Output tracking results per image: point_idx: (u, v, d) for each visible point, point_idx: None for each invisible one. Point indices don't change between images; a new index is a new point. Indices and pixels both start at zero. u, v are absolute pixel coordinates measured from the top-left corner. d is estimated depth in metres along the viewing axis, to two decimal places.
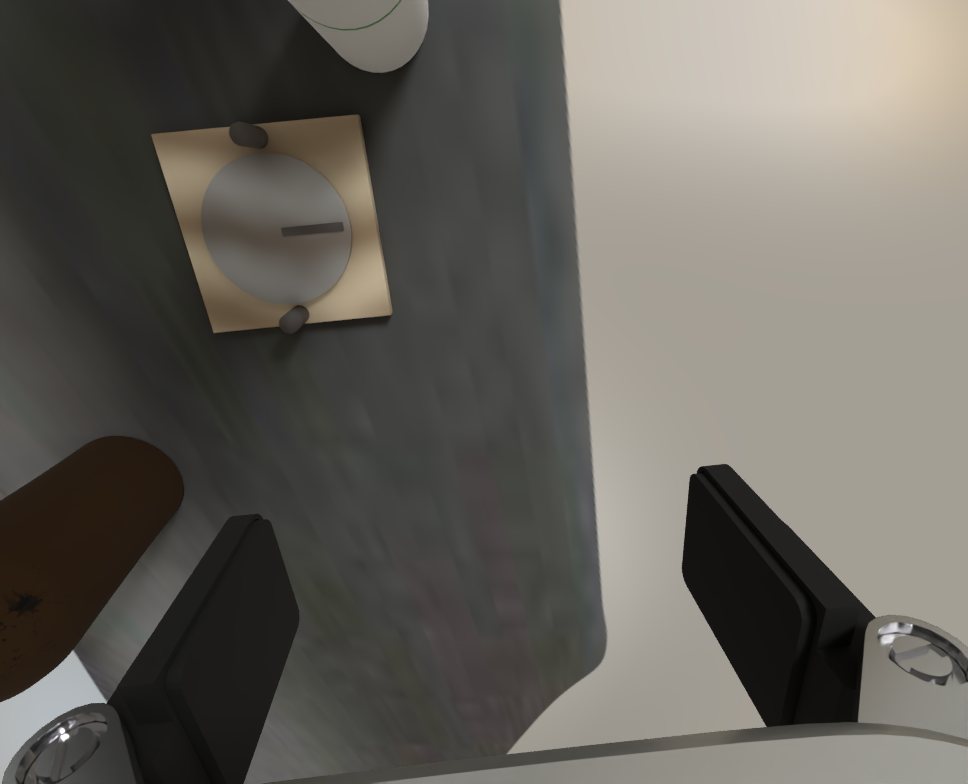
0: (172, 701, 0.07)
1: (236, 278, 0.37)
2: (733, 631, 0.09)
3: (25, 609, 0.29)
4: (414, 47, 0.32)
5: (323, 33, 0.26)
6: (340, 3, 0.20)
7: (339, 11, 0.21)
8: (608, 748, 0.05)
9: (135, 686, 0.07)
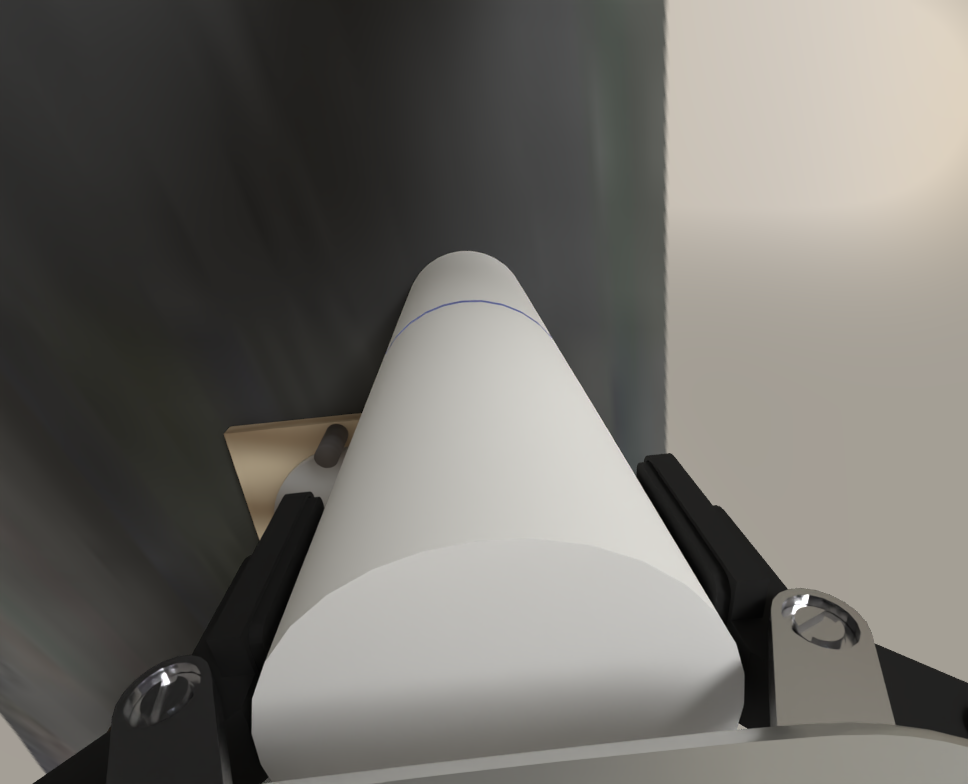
0: (254, 654, 0.08)
1: None
2: None
3: None
4: None
5: None
6: None
7: None
8: (608, 748, 0.05)
9: (222, 639, 0.07)
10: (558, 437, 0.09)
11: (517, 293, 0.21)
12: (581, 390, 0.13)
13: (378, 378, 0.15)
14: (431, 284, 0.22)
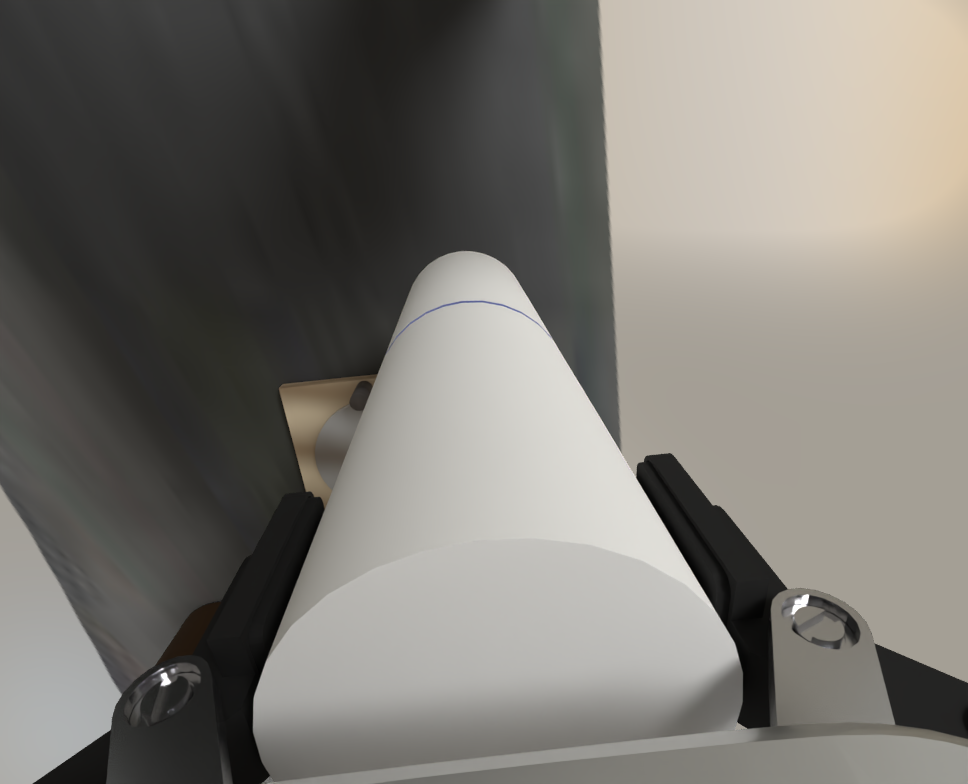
0: (254, 654, 0.08)
1: None
2: None
3: None
4: None
5: None
6: None
7: None
8: (608, 748, 0.05)
9: (222, 639, 0.07)
10: (558, 438, 0.09)
11: (517, 293, 0.21)
12: (581, 390, 0.13)
13: (378, 378, 0.15)
14: (431, 284, 0.22)
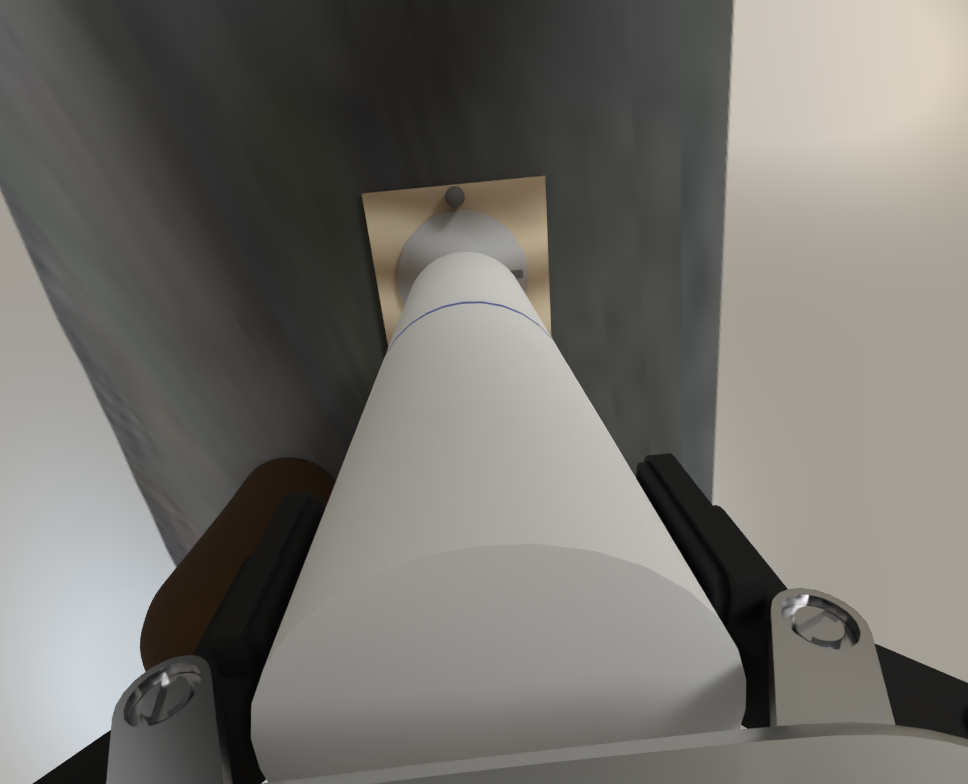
0: (254, 654, 0.08)
1: None
2: None
3: None
4: None
5: None
6: None
7: None
8: (608, 748, 0.05)
9: (223, 639, 0.07)
10: (559, 440, 0.09)
11: (517, 294, 0.21)
12: (582, 392, 0.13)
13: (378, 380, 0.15)
14: (431, 285, 0.22)
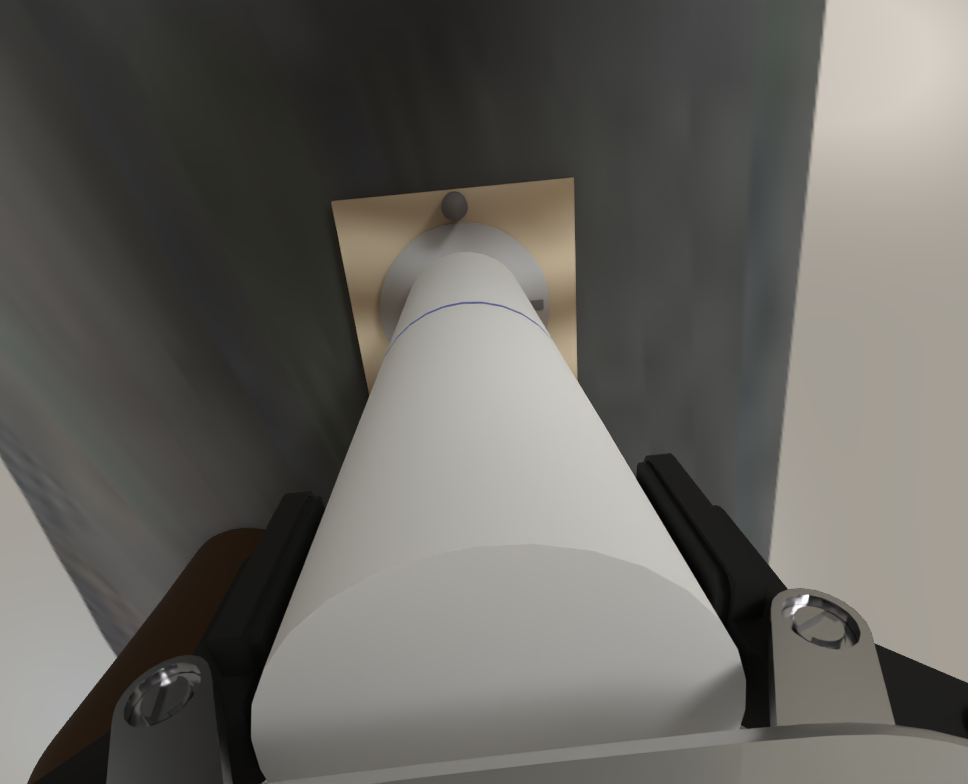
0: (254, 654, 0.08)
1: None
2: None
3: None
4: None
5: None
6: None
7: None
8: (608, 748, 0.05)
9: (222, 639, 0.07)
10: (559, 442, 0.09)
11: (517, 294, 0.21)
12: (581, 392, 0.13)
13: (378, 380, 0.15)
14: (431, 285, 0.22)
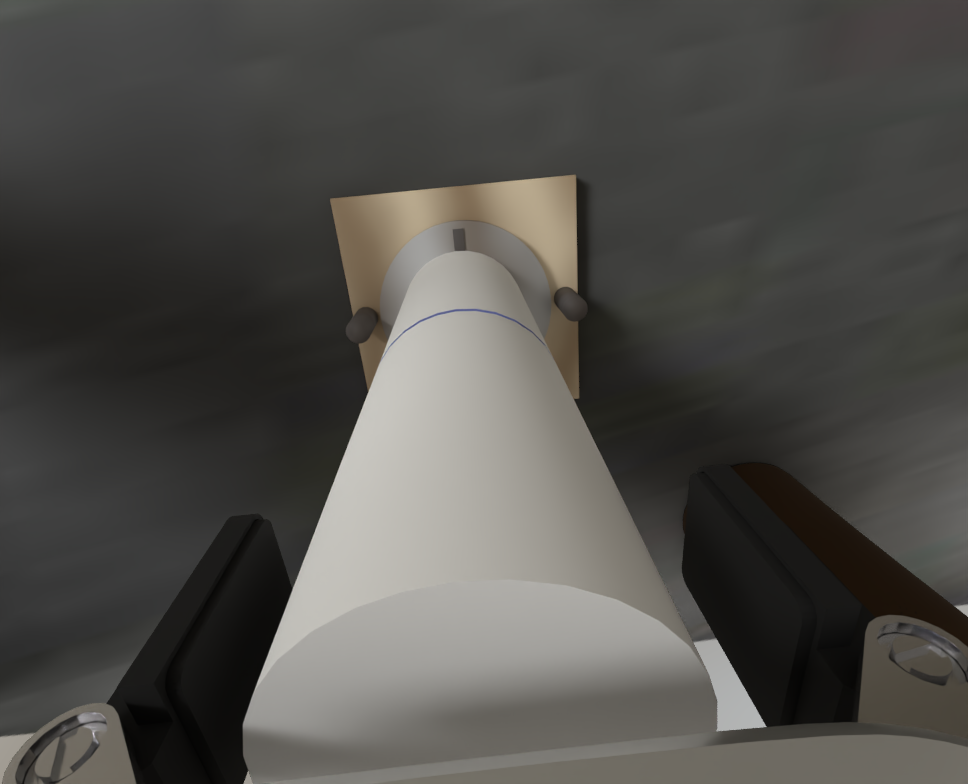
0: (172, 701, 0.07)
1: None
2: (733, 631, 0.09)
3: None
4: None
5: None
6: None
7: None
8: (608, 748, 0.05)
9: (135, 686, 0.07)
10: (541, 465, 0.09)
11: (512, 298, 0.21)
12: (571, 405, 0.13)
13: (371, 390, 0.15)
14: (427, 288, 0.22)
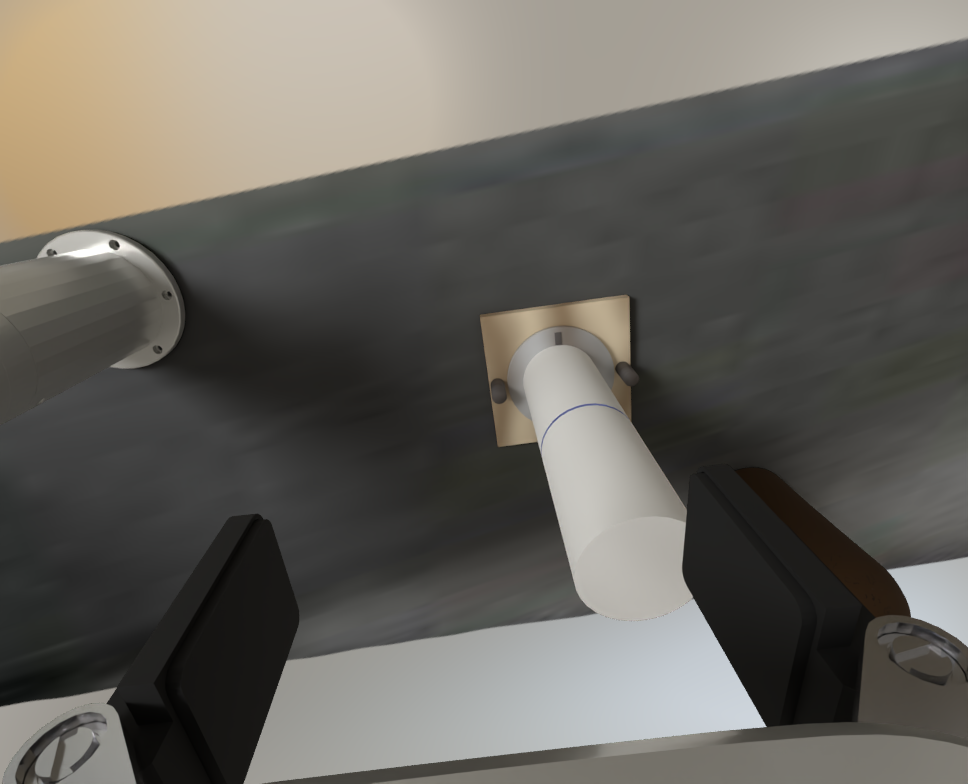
0: (172, 701, 0.07)
1: None
2: (733, 631, 0.09)
3: None
4: None
5: None
6: None
7: None
8: (608, 748, 0.05)
9: (135, 686, 0.07)
10: (652, 484, 0.27)
11: (604, 387, 0.40)
12: (651, 456, 0.31)
13: (558, 449, 0.33)
14: (556, 382, 0.40)
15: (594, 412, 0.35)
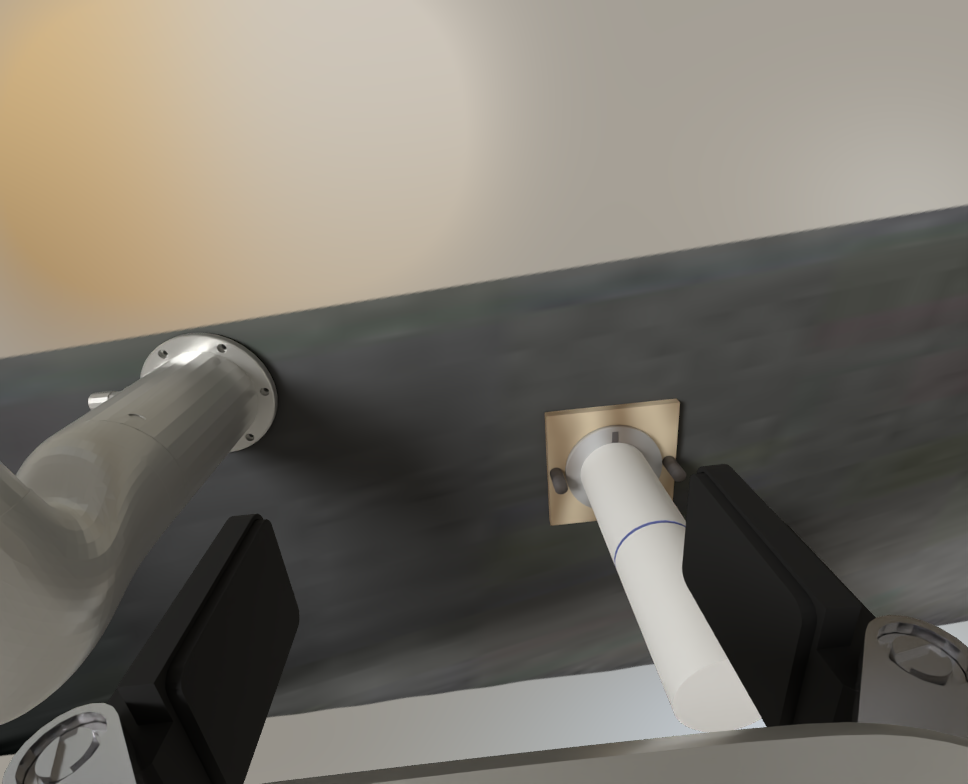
0: (172, 701, 0.07)
1: None
2: (733, 631, 0.09)
3: None
4: None
5: None
6: None
7: None
8: (608, 748, 0.05)
9: (135, 686, 0.07)
10: None
11: (666, 497, 0.45)
12: None
13: (639, 567, 0.38)
14: (623, 490, 0.46)
15: (667, 531, 0.40)
